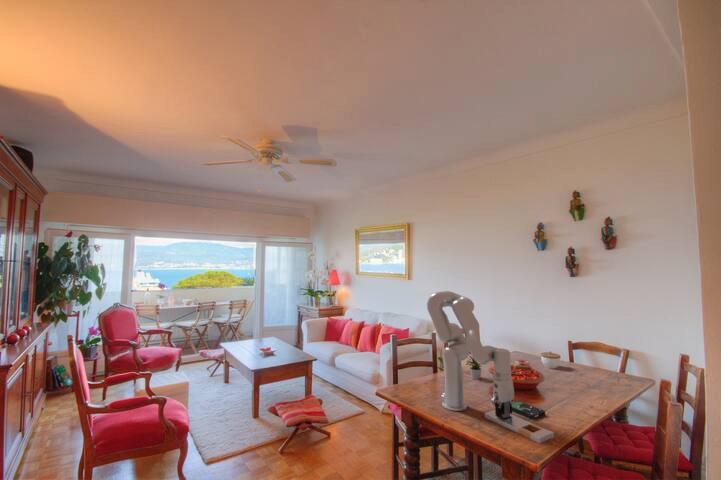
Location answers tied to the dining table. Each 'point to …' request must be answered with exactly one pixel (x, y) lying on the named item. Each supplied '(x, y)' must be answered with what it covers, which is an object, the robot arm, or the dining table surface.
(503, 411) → the steel block
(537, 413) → the disk drive
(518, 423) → the grey slotted board
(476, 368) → the house plant
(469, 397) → the dining table surface
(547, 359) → the lidded bowl
